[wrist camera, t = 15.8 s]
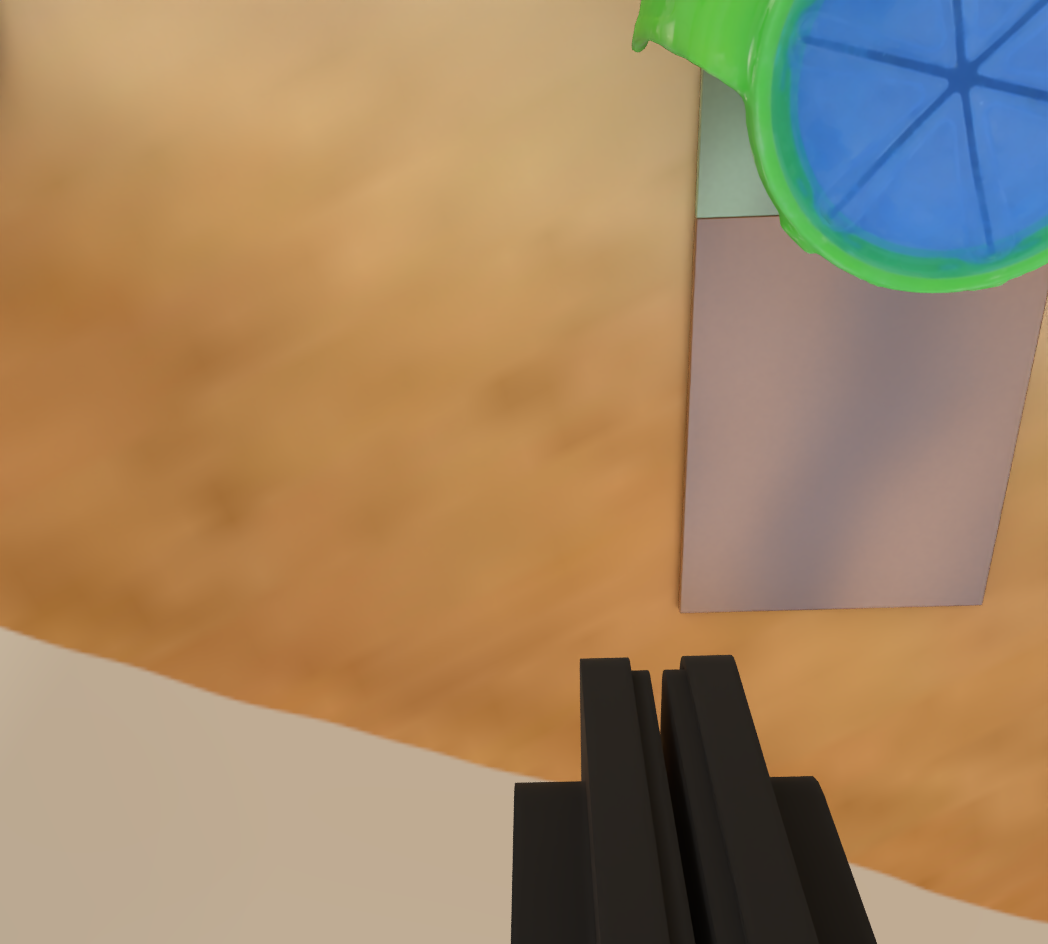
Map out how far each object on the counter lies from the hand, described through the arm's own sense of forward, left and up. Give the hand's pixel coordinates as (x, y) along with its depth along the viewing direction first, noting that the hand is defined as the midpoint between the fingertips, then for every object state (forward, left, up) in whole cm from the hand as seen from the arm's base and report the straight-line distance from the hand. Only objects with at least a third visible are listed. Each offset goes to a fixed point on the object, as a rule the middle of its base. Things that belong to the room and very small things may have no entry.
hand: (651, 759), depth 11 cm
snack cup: (+9, +5, -27) cm, 29 cm away
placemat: (+11, -3, -27) cm, 29 cm away
